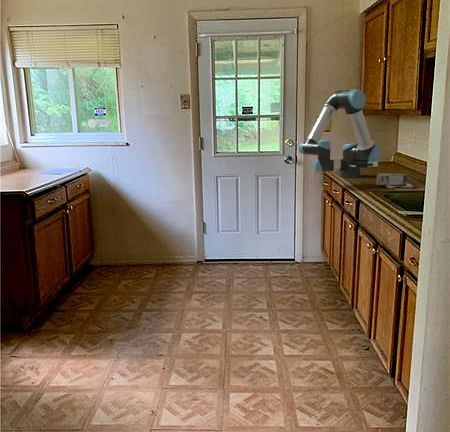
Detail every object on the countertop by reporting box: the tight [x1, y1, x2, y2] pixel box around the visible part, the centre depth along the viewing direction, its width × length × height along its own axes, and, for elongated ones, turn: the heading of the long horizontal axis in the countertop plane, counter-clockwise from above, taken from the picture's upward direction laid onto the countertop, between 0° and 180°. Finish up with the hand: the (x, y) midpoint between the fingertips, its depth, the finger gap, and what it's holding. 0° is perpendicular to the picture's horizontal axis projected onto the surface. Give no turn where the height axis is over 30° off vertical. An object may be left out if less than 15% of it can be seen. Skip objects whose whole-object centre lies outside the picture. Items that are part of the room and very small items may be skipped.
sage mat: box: [383, 182, 414, 189], centre depth 285 cm, size 19×14×1 cm
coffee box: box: [375, 172, 408, 188], centre depth 279 cm, size 9×6×16 cm
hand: (377, 164), depth 282 cm, fingers closed
